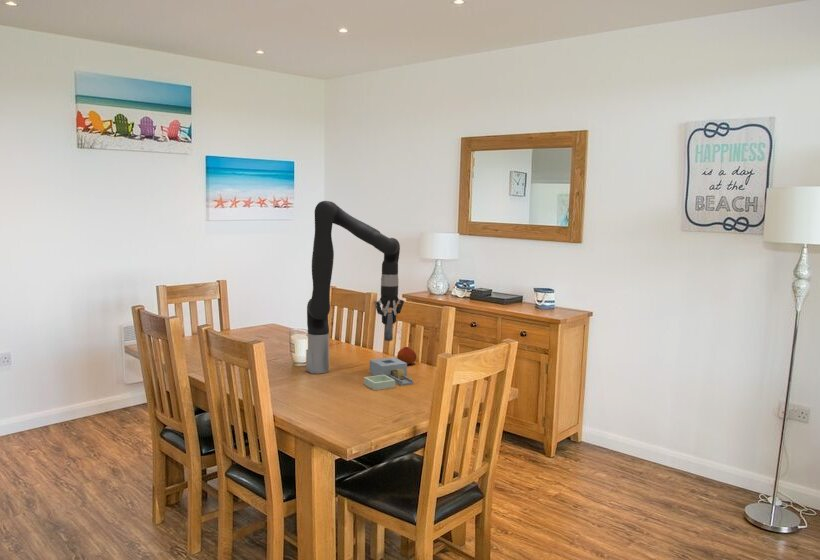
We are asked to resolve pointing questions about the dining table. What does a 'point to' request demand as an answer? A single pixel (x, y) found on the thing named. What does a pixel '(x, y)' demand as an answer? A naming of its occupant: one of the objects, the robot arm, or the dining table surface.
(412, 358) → the fruit
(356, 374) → the dining table surface
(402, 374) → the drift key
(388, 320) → the drill peg
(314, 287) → the robot arm
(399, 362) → the socket block
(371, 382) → the tray
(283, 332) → the dining table surface
